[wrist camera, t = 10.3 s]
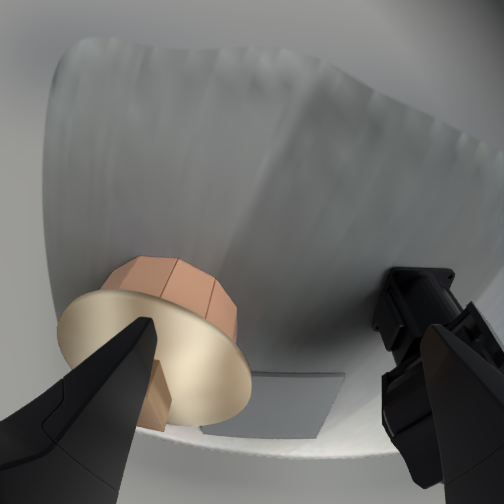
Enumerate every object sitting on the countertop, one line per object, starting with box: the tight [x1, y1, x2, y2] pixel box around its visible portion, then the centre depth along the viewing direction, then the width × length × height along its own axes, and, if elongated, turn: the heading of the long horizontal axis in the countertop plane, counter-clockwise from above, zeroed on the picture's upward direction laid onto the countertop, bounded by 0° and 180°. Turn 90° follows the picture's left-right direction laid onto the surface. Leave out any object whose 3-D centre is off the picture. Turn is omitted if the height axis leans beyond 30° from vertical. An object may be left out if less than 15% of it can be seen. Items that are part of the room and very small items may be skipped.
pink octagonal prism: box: [100, 256, 237, 344], centre depth 22 cm, size 12×12×6 cm
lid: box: [57, 289, 252, 432], centre depth 18 cm, size 15×15×4 cm
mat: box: [201, 372, 345, 439], centre depth 32 cm, size 16×16×1 cm
